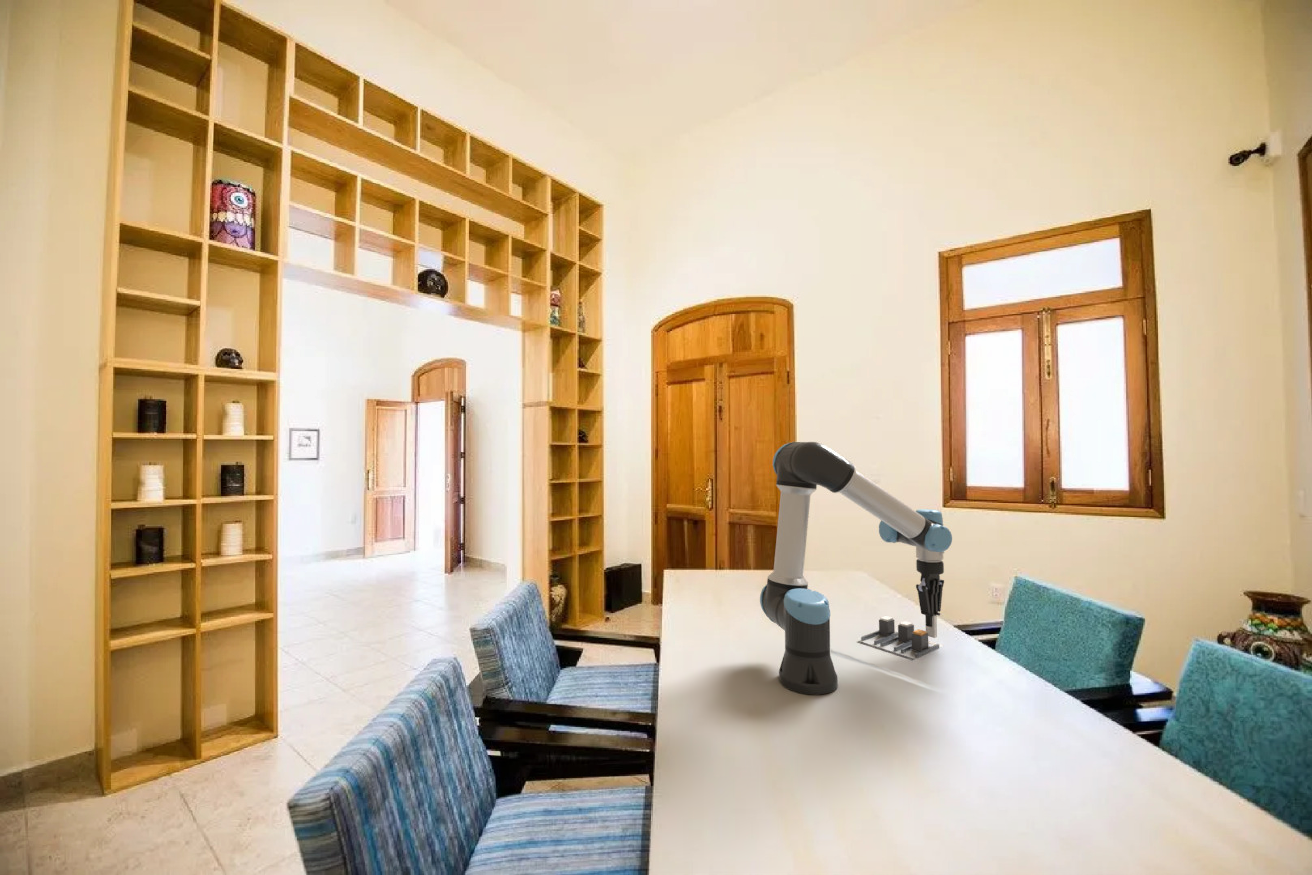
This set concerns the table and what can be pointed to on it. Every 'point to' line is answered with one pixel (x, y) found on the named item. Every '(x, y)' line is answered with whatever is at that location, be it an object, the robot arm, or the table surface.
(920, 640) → the block
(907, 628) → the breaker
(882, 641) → the panel
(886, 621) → the breaker
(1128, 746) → the table surface
